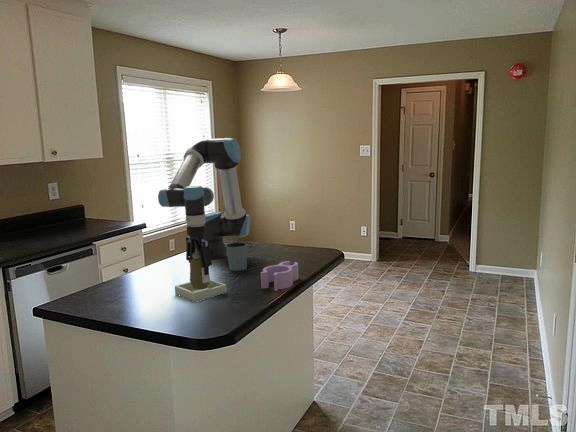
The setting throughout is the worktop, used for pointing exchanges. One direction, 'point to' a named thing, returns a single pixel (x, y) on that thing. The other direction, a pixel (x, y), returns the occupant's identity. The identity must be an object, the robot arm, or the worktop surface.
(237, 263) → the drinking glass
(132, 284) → the worktop surface
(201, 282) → the squeeze bottle
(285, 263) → the clip
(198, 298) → the tray
